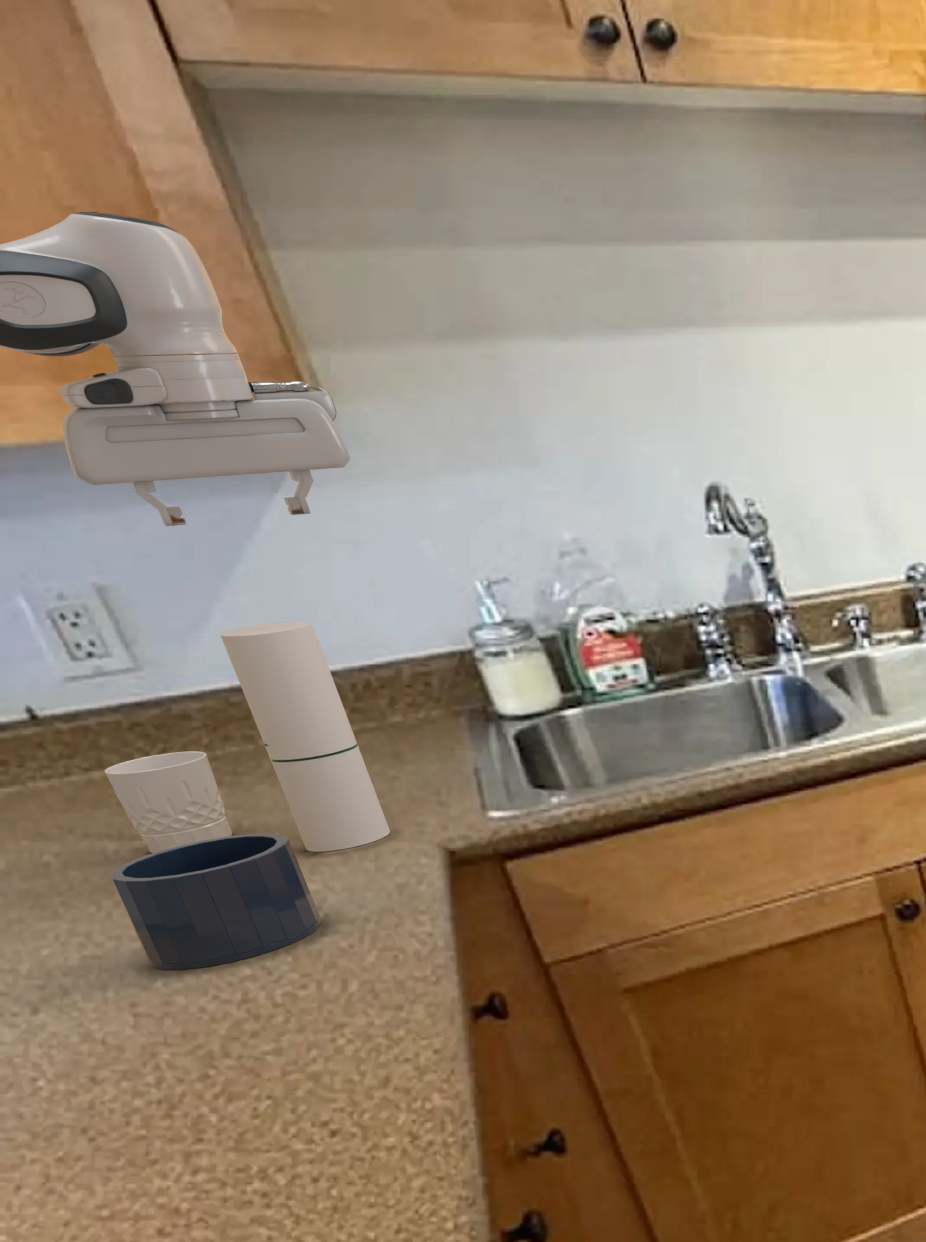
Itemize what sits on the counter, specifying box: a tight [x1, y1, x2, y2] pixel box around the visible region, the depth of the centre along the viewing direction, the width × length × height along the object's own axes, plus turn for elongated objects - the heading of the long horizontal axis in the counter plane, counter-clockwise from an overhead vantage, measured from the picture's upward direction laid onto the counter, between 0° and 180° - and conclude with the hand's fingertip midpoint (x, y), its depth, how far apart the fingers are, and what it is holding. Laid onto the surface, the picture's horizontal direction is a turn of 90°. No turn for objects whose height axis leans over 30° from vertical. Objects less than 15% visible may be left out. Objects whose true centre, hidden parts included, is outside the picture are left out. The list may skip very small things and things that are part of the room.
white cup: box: [103, 750, 233, 854], centre depth 150 cm, size 8×8×10 cm
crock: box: [109, 833, 322, 971], centre depth 125 cm, size 12×12×9 cm
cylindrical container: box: [219, 621, 391, 853], centre depth 147 cm, size 7×7×25 cm
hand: (239, 519), depth 140 cm, fingers open, 8 cm apart
